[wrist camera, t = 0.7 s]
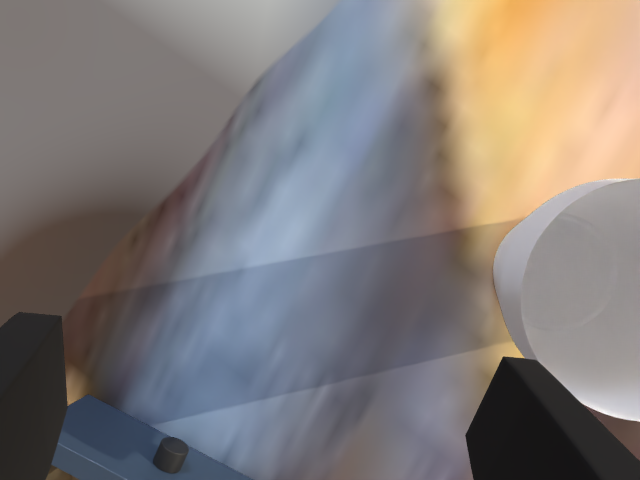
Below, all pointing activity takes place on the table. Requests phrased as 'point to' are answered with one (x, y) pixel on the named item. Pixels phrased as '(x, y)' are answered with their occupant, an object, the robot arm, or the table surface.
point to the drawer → (125, 449)
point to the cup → (579, 292)
